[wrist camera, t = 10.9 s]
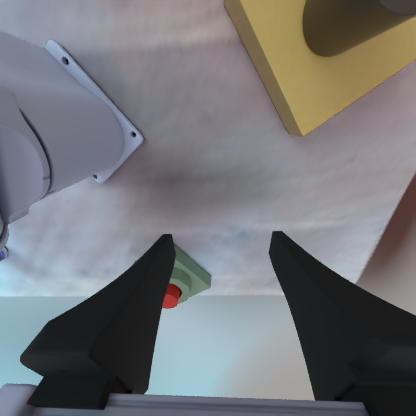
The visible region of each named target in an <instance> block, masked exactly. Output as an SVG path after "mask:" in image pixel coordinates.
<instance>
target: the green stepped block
mask: <svg viewBox="0 0 416 416" xmlns="http://www.w3.org/2000/svg"><path fill="white" fill-rule="evenodd" d="M174 247H175V252H176V258H175V263H174V268H173V272H172V275H171V278H170V282H169V283H171V284H175V285H176V286H178V287H179V288H180V295H179V301H178V304H179V303H182V302H184V301H186V300H187V299H188V297H191V296H193V295H195V294H197V293H199V292H202V291H204V290H206V289H208V288H210V287H211V275H210V274H208V273H207V272H206V271H205V270H204V269H203V268H201V267H200V266H199V265H198V264H197V263H196V262H194V261H193V260H192V259H191V258H190V257H189V256H187V255H186V254H185V253H184V252H183V251H181V250H180V249H179V248H178V247H177V246H176V245H174ZM137 261H138V260H137ZM137 261H136V262H137ZM136 262H135V263H136ZM135 263H134V264H135Z"/></svg>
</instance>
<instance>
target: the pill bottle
mask: <svg viewBox="0 0 416 416" xmlns="http://www.w3.org/2000/svg"><path fill="white" fill-rule="evenodd" d="M7 255H8V252H7V250H6V249H5V247H4V248H3V249H2V251H1V252H0V261H1V260H3V259H4V258H6V257H7Z"/></svg>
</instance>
